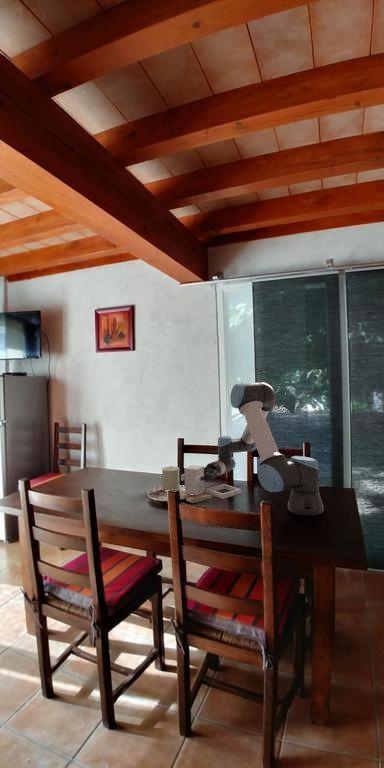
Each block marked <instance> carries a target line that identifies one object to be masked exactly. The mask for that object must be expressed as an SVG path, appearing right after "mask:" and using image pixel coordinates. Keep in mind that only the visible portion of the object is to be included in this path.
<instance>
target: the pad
mask: <svg viewBox="0 0 384 768" xmlns="http://www.w3.org/2000/svg"><path fill="white" fill-rule="evenodd" d="M179 495H180V497H183V498H184V499H186V500H185V501H187V502H189V503H190V504H195V503H198V502H202V501H205V500H206V501H207V500H210V499H212V498H213V495H210V494H208V493H205V492H203V493H201V494H199V495H190V494H186V493H180V494H179ZM184 499H183V500H184Z"/></svg>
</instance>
